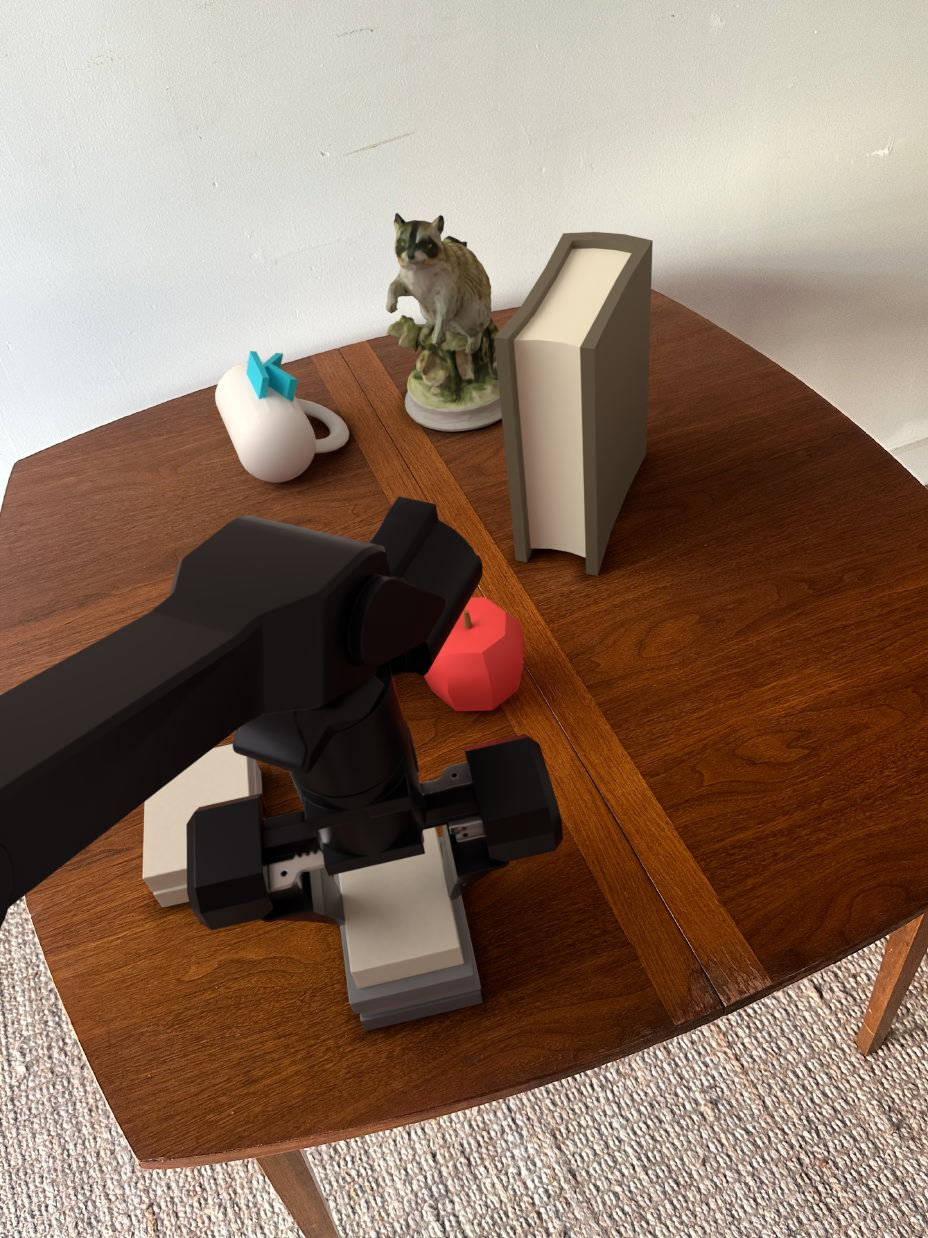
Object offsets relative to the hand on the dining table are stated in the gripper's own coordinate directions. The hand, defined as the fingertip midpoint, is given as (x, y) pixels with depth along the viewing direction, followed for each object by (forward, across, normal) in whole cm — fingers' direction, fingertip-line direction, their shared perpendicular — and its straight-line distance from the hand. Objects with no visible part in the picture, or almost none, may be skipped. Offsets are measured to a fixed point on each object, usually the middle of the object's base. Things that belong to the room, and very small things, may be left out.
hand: (398, 904), depth 58 cm
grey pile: (+5, 0, 0) cm, 5 cm away
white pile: (+5, +12, -11) cm, 17 cm away
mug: (+6, +3, -52) cm, 52 cm away
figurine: (+6, -14, -55) cm, 57 cm away
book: (+6, -21, -36) cm, 42 cm away
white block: (+1, 0, 0) cm, 1 cm away
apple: (+6, -8, -19) cm, 21 cm away
